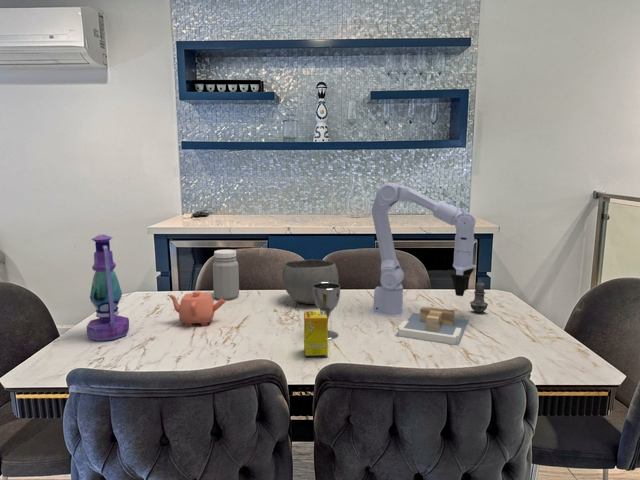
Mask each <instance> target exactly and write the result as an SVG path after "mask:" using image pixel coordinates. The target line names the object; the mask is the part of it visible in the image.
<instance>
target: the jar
mask: <svg viewBox="0 0 640 480" xmlns="http://www.w3.org/2000/svg"><path fill="white" fill-rule="evenodd" d="M213 257H214V259H213V260H214V261H213V263H212V282H213V283H212V284H213V297H214V298H215V299H216V300H218V301H219V300H220V299H221V298H222V299H223V300H224V301H231V300H235V299H237V298H238V296H240V285H239V284H240V277H239V273H240V272H239V262H238V260H237V250H235V249H230V248H229V249H228V248H227V249H217V250H214V253H213Z"/></svg>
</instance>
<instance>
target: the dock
mask: <svg viewBox="0 0 640 480" xmlns="http://www.w3.org/2000/svg"><path fill="white" fill-rule="evenodd" d="M408 328H409V321H407V320H405V319H404V320H403V321H402V322H401V324H400V325H399V326H398V329H397V332H398V336H403V337H402V338H404V337H409V338H408V339H411V338H416V339H415V340H417V339H422V340H421V341H424V340H429V341H428V342H430V341H436V342H435V343H437V342H442V343H441V344H443V343H449V344H448V345H450V344H456V343H458V342H459V339H460V337H461V330H462V328H456V329H455V331H454V334H453V335H447V334H441V333H434V332H427V331H420V330H413V329H408ZM398 336H397V337H398Z"/></svg>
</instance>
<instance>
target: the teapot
mask: <svg viewBox="0 0 640 480" xmlns="http://www.w3.org/2000/svg"><path fill="white" fill-rule="evenodd" d="M167 296H168V297H169V298H170V299H171V301H172V303H173V308H174V310H175V311H176V312H177V313H178V318H179V319H178V320H179V322H180V323H182V324H185V325H184V327H191V326H192V324H200V326H201V327H206V326H208V323H210V322H211V321H213V318H214V316H215V312H216V311H217V310H218V309H220V308H221V307H222V306H223V305H224V304H225V303H226V300H223V299H222V298H221V299H220V300H218V301H216V303H214V302H215V301H214V299H213V296H212V293H210V292H209V293H208V292H201V291H199V290H197V291H192V293H185V294H184V295H183V296H182V297H181V300H180V303H179V302H178V299H177V297H176V296H175V295H173V294H167Z"/></svg>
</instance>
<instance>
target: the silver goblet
mask: <svg viewBox="0 0 640 480" xmlns="http://www.w3.org/2000/svg"><path fill="white" fill-rule="evenodd" d="M340 295H341V285H340V284H339V283H338V284H337V283H332V282H321V283H316V284H314V285H313V297H314V302H315V306H316V308H317V309H318V311H326V315H327V318H328V319H329V318H330V316H331V315H330V314H331V313H332V312H333V311H334V310H335V308H336V307H337V306H338V304H339V301H340V297H341V296H340ZM338 337H339V333H337V331H333V330H328V340H333V339H337V338H338Z"/></svg>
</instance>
